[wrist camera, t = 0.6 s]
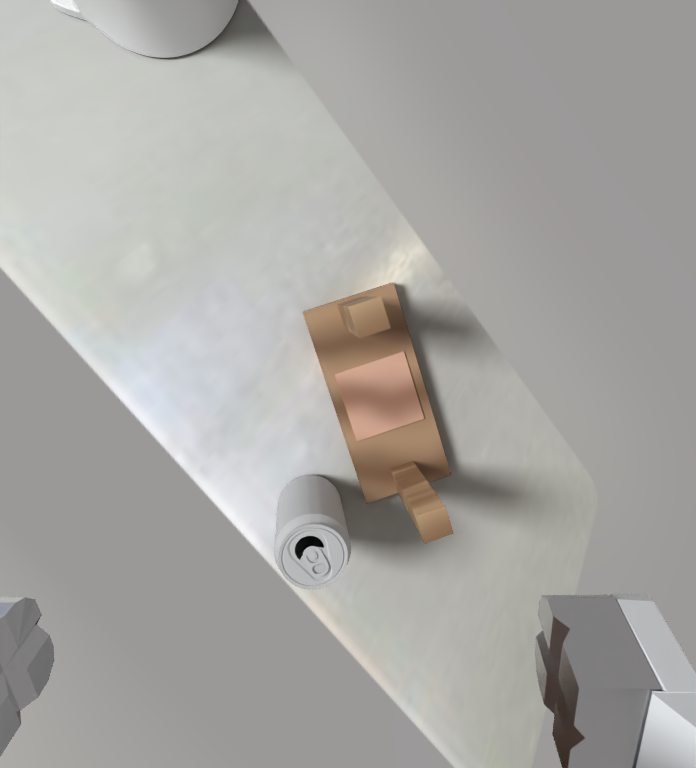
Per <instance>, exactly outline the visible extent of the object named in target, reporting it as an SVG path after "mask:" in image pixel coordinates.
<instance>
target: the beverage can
mask: <svg viewBox="0 0 696 768" xmlns="http://www.w3.org/2000/svg"><path fill="white" fill-rule="evenodd" d="M350 554H351V543H350V538H349V534H348V529H347V525H346V520H345V516H344V512H343V507H342V503H341V499H340V495H339V493H338V491H337V489H336V487H335V486H334V485H333V484H332V483H331V482H330V481H328V480H327V479H325V478H323V477H320V476H316V475H305V476H300V477H298V478H295V479H293V480H292V481H290V482H289V483H288V484H287V485H286V486H285V487H284V488H283V490H282V492H281V493H280V496H279V499H278V506H277V519H276V532H275V545H274V556H275V561H276V563H277V566H278V568H279V569H280V571H281V572H282V574H283V575H284V576H285V578H286V579H287V580H288V581H289V582H291V583H292V584H294V585H295V586H298V587H300V588H304V589H320V588H324V587H326V586H329V585H330V584H332V583H334V582H335V581H336V580H337V579H338V578H339V577H340V576H341V575H342V573H343V572H344V570H345V568H346V565H347V563H348V561H349V558H350Z"/></svg>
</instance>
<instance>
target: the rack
mask: <svg viewBox="0 0 696 768" xmlns="http://www.w3.org/2000/svg"><path fill="white" fill-rule="evenodd" d="M303 314H304V317H305V320H306V323H307V326H308V329H309V332H310V335H311V338H312V341H313V344H314V347H315V350H316V353H317V356H318V359H319V362H320V365H321V368H322V371H323V374H324V377H325V380H326V383H327V386H328V389H329V392H330V395H331V398H332V401H333V404H334V407H335V410H336V413H337V416H338V419H339V422H340V425H341V428H342V431H343V434H344V437H345V440H346V443H347V446H348V449H349V452H350V455H351V458H352V461H353V464H354V467H355V470H356V473H357V476H358V479H359V482H360V485H361V488H362V491H363V494H364V497H365V500H366V503H367V504H368V503H370V502H373V501H376V500H379V499H382V498H385V497H388V496H391V495H394V494H397V493H399V495H400V497H401V499H402V501H403V503H404V505H405V507H406V508H407V510H408V512H409V514H410V516H411V518H412V520H413V522H414V524H415V526H416V527H417V529H418V531H419V533H420V535H421V537H422V539H423V541H424V543H427V542H430V541H433V540H436V539H439V538H441V537H444V536H447V535H450V534H453V530H452V527H451V524H450V520H449V517H448V514H447V511H446V507H445V505H444V504H443V502H442V501H441V500H440V498H439V497H438V495H437V494H436V493H435V491H434V490H433V488H432V487H431V486H430V484H429V482H431V481H434V480H437V479H440V478H443V477H446V476H449V475H451V472H450V469H449V466H448V462H447V459H446V456H445V452H444V449H443V446H442V442H441V439H440V436H439V432H438V429H437V426H436V422H435V419H434V416H433V412H432V409H431V406H430V402H429V399H428V396H427V392H426V389H425V386H424V382H423V379H422V375H421V372H420V369H419V365H418V362H417V359H416V355H415V352H414V349H413V345H412V342H411V339H410V335H409V332H408V329H407V325H406V322H405V319H404V315H403V312H402V309H401V305H400V302H399V299H398V295H397V292H396V289H395V285H394V283H389V284H386V285H383V286H380V287H377V288H374V289H371V290H368V291H365V292H362V293H359V294H356V295H353V296H350V297H347V298H343V299H340V300H337V301H334V302H331V303H328V304H325V305H322V306H319V307H316V308H313V309H310V310H307V311H304V312H303Z"/></svg>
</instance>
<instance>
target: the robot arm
mask: <svg viewBox="0 0 696 768" xmlns="http://www.w3.org/2000/svg"><path fill="white" fill-rule="evenodd" d="M50 1H51V3H52V5H53V6H54V7H55V8H56V9H58V10H59V11H61V12H63V13H66V14H68V15H71V16H74V17H77V18H80V19H83V20H86V21H88V22H90V23H91V24H93V25H94V26H95V27H97V28H98V29H99V30H100V31H101V32H102V33H104V34H105V35H106V36H107V37H108V38H110V39H111V40H112V41H114V42H115V43H117V44H119V45H120V46H122V47H124V48H126V49H128V50H130V51H133V52H135V53H138V54H142V55H145V56H150V57H159V58H170V57H178V56H183V55H186V54H189V53H192V52H194V51H197V50H199V49H201V48H203V47H204V46H206V45H207V44H209V43H210V42H211V41H213V40H214V39H215V38H216V37H217V36H218V35H219V34H220V33H221V32H222V31H223V29H224V28H225V27H226V26H227V24H228V23H229V21H230V19H231V17H232V16H233V14H234V11H235V9H236V7H237V4H238V1H239V0H50ZM41 615H42V614H41V612H40V610H39V608H38V606H37V603H36V601H35V600H34V599H30V598H26V597H0V756H1V755H2V753H3V751H4V750H5V748H6V747H7V745H8V744H9V742H10V740H11V739H12V737H13V736H14V734H15V733H16V731H17V730H18V728H19V727H20V725H21V716H20V715H21V714H20V710H22V709H23V708H24V707H26V706H27V705H28V704H30V703H31V702H32V701H33V700H35V699H36V698H38V696H39V695H40V693H41V691H42V690H43V688H44V687H45V685H46V683H47V682H48V680H49V676H50V673H51V669H52V666H53V662H54V651H53V650H54V649H53V644H52V641H51V638H50V635H48V634H47V633H46V632H45V631H44V630H42V629H41V628H40V627H39V626H38V625H37V623H38V621H39V619H40V617H41ZM538 616H539V620H540V623H541V626H542V629H543V630H542V631H541V632H540V633H539V634H538V635H537V636H536V646H535V659H536V672H537V677H538V682H539V687H540V691H541V695H542V699H543V702H544V705H545V706H546V707H547V708H548V709H550V710H551V711H552V712H553V713H554V723H553V732H552V734H553V737H554V741H555V745H556V748H557V752H558V755H559V758H560V762H561V765H562V768H696V671H695V670H694V668H693V666H692V665H691V663H690V661H689V660H688V658H687V656H686V655H685V653H684V651H683V650H682V648H681V646H680V645H679V643H678V641H677V640H676V638H675V636H674V635H673V633H672V631H671V630H670V628H669V626H668V624H667V623H666V621H665V619H664V618H663V616H662V614H661V613H660V611H659V609H658V608H657V606H656V604H655V603H654V601H653V599H652V598H650V597H649V596H648V595H646V594H611V595H542V597H541V599H540V602H539V610H538Z"/></svg>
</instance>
